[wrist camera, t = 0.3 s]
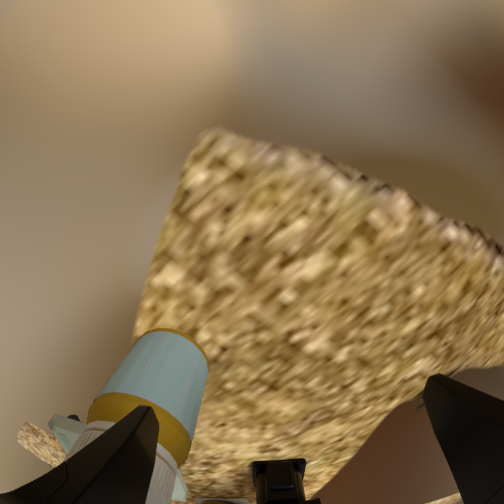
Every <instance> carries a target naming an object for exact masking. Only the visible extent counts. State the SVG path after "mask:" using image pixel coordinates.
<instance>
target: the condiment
mask: <svg viewBox="0 0 504 504" xmlns="http://www.w3.org/2000/svg"><path fill="white" fill-rule="evenodd" d="M193 499H194V500H195V501H196V503H197V504H250V502H249V500H248V498H235V499H232V498H231V499H230V498H229V499H221V498H193ZM234 502H235V503H234Z"/></svg>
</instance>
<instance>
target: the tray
mask: <svg viewBox="0 0 504 504" xmlns="http://www.w3.org/2000/svg"><path fill="white" fill-rule="evenodd" d="M48 425H49V427H50V428H51V430H52V432H53V433H54V435H55V437H56V438H57V440H58V442H59V443H60V445H61V446H62V448H63V449H64V451H65V452H66V454H68V452H69V451H70V449H71V447H72V446H73V444H74V443H75V441H76V440H77V438H78V437H79V436H80V435H81V433H82V431H83V430H84V428H85V427H86V426H87V424H86V423H83V422H80V420H79V418H78V416H76V415H70V416H68V417H67V418H66V417H63V416H60V415H57V414H55V415H54V417H53V418H52V419H51V420H50V422H49V423H48ZM187 494H188V488H187V486H186V484H185V481H184V479H183V477H182V474H181V472H180V470H179V469H178V472H177V476H176V479H175V486H174V490H173V494H172V498H171V500H176V501H183V502H186V499H187Z"/></svg>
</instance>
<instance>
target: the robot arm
mask: <svg viewBox="0 0 504 504" xmlns="http://www.w3.org/2000/svg"><path fill="white" fill-rule="evenodd" d="M422 398H423V402H424V404H425V407H426V410H427V412H428V416H429V419H430V422H431V424H432V427H433V430H434V433H435V435H436V438H437V440H438V442H439V444H440V446H441V449H442V451H443V453H444V455H445V458H446V460H447V462H448V464H449V467H450V469H451V472H452V474H453V477H454V479H455V482H456V484H457V487H458V489H459V492H460V494H461V497H462V500H463V502H464V504H504V401H503V400H501V399H498V398H496V397H493V396H491V395H489V394H486V393H484V392H482V391H479V390H477V389H474V388H472V387H470V386H468V385H465V384H463V383H461V382H458V381H456V380H453V379H452V378H449V377H447V376H445V375H443V374H440V373H438V374H435V375H432V376H430V377H429V378H428V380H427V382H426V385H425V388H424V391H423V395H422ZM158 436H159V421H158V419H157V417H156V414H155V412H154V409H153V408H152V407H151V406H148V405H139V406H137V407H136V408H134V409H133V410H132V411H131V412H129V413H128V414H127V415H126V416H124V417H123V418H122V419H121V420H119V421H118V422H117V423H115V424H114V425H113V426H111V427H110V428H109V429H108V430H106V431H105V432H104V433H102V434H101V435H100V436H98V437H97V438H96V439H94V440H93V441H92V442H90V443H89V444H88V445H86V446H85V447H84V448H82V449H81V450H80V451H78V452H77V453H75V454H74V455H73V456H71V457H70V458H68V459H67V460H66V461H64V462H63V463H61V464H60V465H58V466H57V467H56V468H54V469H52V470H51V471H49V472H48V473H46V474H44V475H43V476H41V477H39V478H37V479H35V480H33V481H31V482H30V483H28V484H25V485H23V486H21V487H19V488H17V489H15V490H13V491H10V492H7V493H3V494H0V504H145V503H146V499H147V495H148V490H149V486H150V482H151V478H152V475H153V470H154V466H155V459H156V451H157V443H158ZM305 467H306V459H293V460H281V461H260V462H253V463H252V469H253V482H254V487H256V501H257V504H321V502H320V498H316V499H313V500H306V499H305V493H304V487H303V478H304V472H305Z"/></svg>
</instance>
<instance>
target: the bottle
mask: <svg viewBox="0 0 504 504" xmlns="http://www.w3.org/2000/svg"><path fill="white" fill-rule="evenodd" d="M208 370H209V365H208V359H207V356H206V354H205V352H204V351H203V349H202V347H201V346H200V345H199V344H198V343H197V342H196V341H195V340H194V339H192V338H191V337H189V336H188V335H186V334H184V333H182V332H180V331H176V330H173V329H163V328H159V329H155V330H151V331H149V332H147V333H145V334H144V335H143V336H142V337H141V338H140V339H139V340H138V341H137V342H136V344H135V345H134V346H133V348H132V349H131V350H130V352H129V353H128V354H127V356H126V357H125V358H124V360H123V361H122V362H121V364H120V365H119V367H118V368H117V369H116V371H115V372H114V373H113V375H112V376H111V378H110V379H109V380H108V382H107V383H106V384H105V386H104V387H103V389H102V390H101V391H100V393H99V394H98V396H97V397H96V398H95V400H94V402H93V404H92V405H91V407H90V409H89V412H88V419H87V426H86V427H85V428H84V430H83V431H82V433H81V435H80V436H79V437H78V438H77V440H76V441H75V443H74V444H73V446H72V447H71V449H70V451H69V452H68V454H67V455H66V458H65V461H66V460H67V459H68V458H70V457H71V456H73V455H74V454H75V453H77V452H78V451H80V450H81V449H82V448H84V447H85V446H86V445H88V444H89V443H90V442H92V441H93V440H94V439H96V438H97V437H98V436H100V435H101V434H102V433H104V432H105V431H106V430H108V429H109V428H110V427H111V426H113V425H114V424H115V423H117V422H118V421H119V420H121V419H122V418H123V417H124V416H126V415H127V414H128V413H129V412H131V411H132V410H133V409H134V408H136V407H137V406H139V405H148V406H151V407H152V408H153V409H154V412H155V414H156V417H157V419H158V421H159V436H158V443H157V451H156V459H155V466H154V470H153V475H152V478H151V482H150V486H149V490H148V495H147V499H146V503H145V504H170V502H171V498H172V494H173V490H174V486H175V479H176V476H177V472H178V469H179V468H180V466H181V465H182V464H183V463H184V462H185V460H186V459H187V458H188V454H189V451H190V448H191V443H192V439H193V435H194V430H195V426H196V422H197V418H198V413H199V409H200V405H201V401H202V396H203V392H204V388H205V384H206V380H207V376H208Z"/></svg>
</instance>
